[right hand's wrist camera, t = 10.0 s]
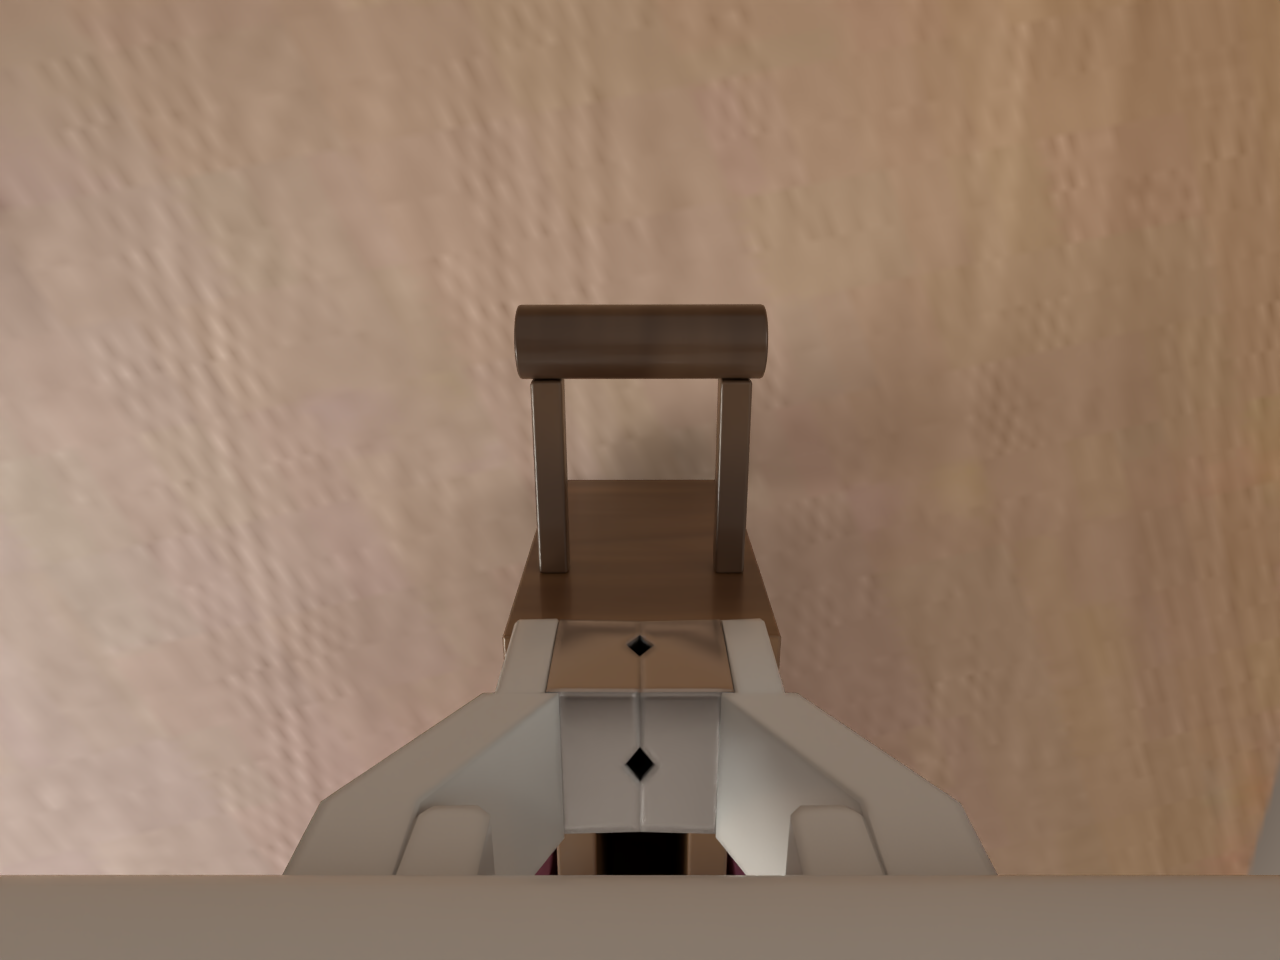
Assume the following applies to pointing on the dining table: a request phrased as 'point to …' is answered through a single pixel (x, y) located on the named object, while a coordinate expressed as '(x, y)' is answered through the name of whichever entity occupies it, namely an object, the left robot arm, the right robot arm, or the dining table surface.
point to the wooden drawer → (641, 512)
